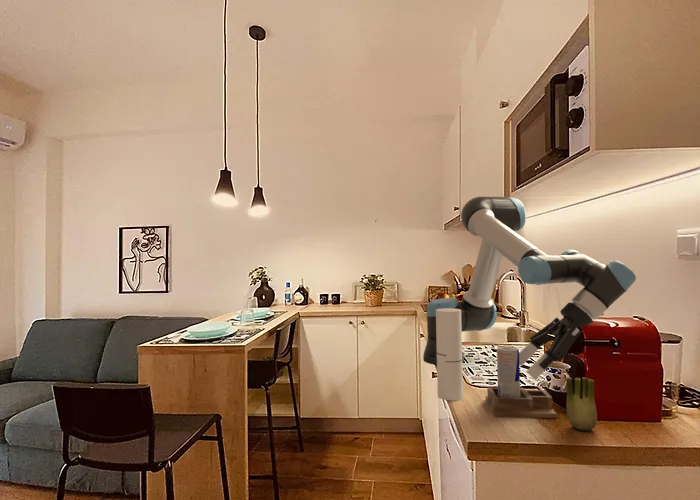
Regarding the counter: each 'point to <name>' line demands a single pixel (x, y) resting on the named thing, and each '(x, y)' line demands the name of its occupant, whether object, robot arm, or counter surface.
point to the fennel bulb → (581, 404)
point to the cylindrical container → (449, 354)
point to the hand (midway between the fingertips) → (523, 368)
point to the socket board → (521, 404)
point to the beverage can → (508, 372)
